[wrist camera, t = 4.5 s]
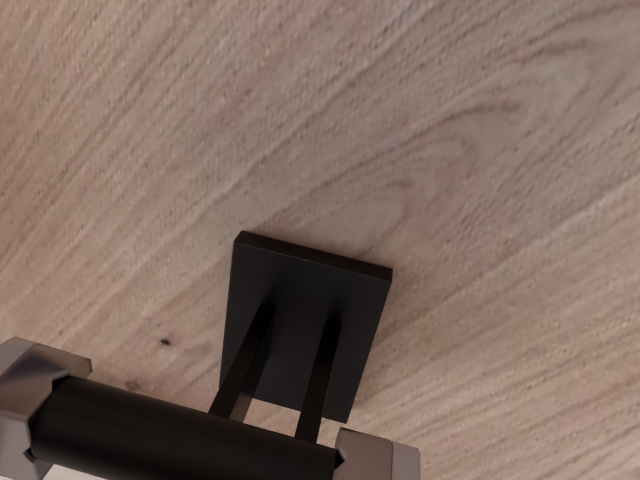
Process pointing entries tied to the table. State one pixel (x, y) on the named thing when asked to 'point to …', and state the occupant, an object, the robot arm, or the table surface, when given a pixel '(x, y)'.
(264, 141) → the table surface
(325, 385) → the bracket
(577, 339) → the table surface
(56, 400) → the lever
